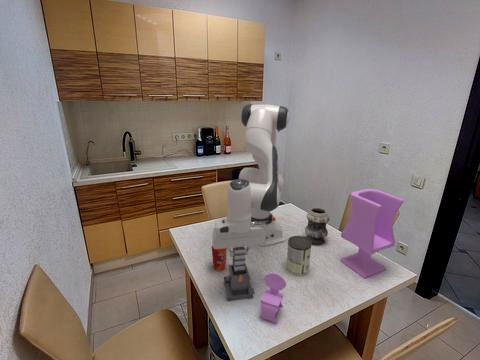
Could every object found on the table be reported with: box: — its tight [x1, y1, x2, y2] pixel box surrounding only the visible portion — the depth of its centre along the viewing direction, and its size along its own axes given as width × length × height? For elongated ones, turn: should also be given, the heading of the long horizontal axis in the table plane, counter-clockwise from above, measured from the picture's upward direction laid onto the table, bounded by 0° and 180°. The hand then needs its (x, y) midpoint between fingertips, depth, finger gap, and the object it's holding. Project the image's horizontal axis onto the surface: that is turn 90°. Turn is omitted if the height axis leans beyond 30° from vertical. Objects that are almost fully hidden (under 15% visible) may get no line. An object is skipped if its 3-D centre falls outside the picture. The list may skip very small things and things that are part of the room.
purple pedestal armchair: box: [339, 188, 405, 279], centre depth 114 cm, size 16×16×35 cm
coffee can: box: [285, 235, 313, 277], centre depth 115 cm, size 10×10×14 cm
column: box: [232, 246, 247, 275], centre depth 100 cm, size 4×4×18 cm
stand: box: [223, 262, 256, 302], centre depth 102 cm, size 11×11×10 cm
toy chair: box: [259, 272, 287, 324], centre depth 91 cm, size 8×9×15 cm
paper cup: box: [210, 240, 228, 272], centre depth 115 cm, size 8×8×14 cm
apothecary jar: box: [304, 206, 330, 246], centre depth 137 cm, size 12×12×18 cm
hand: (238, 255), depth 98 cm, fingers closed on column, 4 cm apart
